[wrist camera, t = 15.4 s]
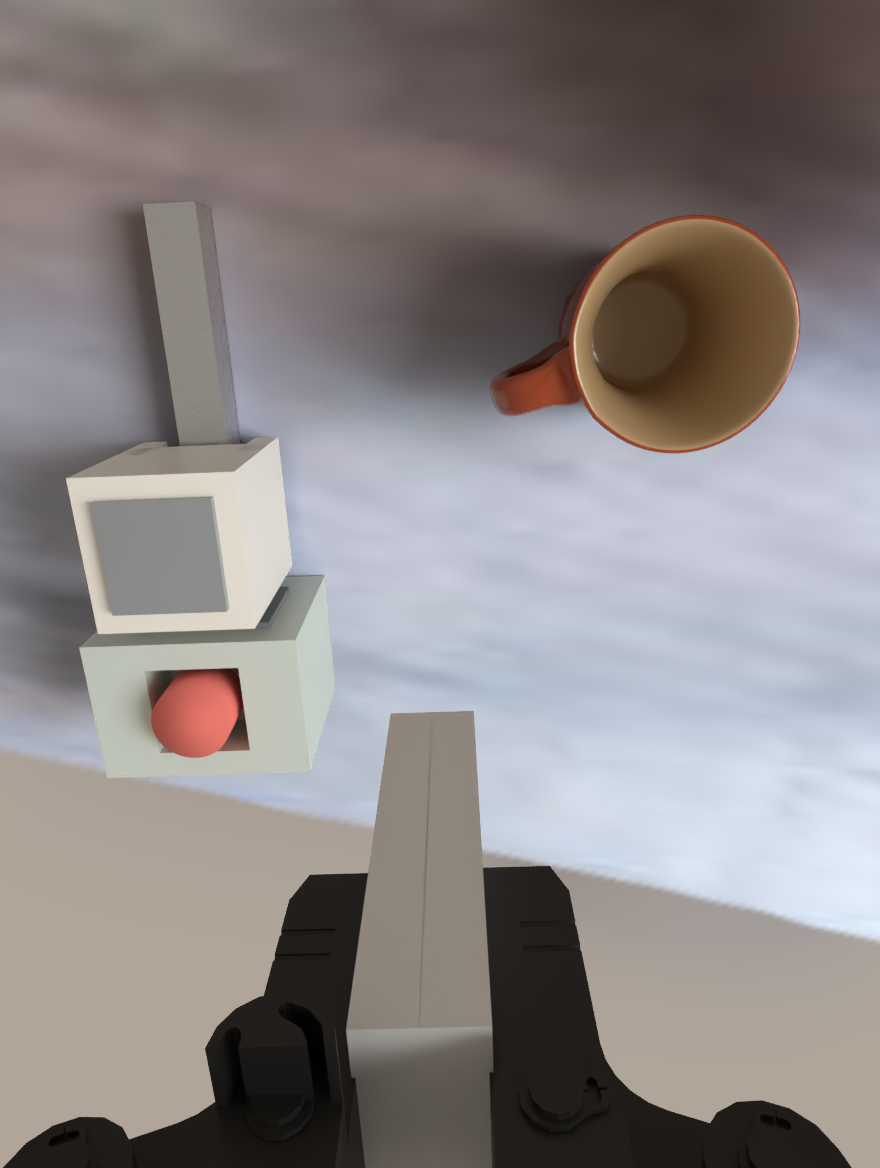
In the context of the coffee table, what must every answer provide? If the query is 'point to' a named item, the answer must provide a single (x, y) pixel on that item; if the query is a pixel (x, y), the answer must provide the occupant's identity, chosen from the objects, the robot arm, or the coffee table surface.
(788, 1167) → the robot arm
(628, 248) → the mug
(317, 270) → the coffee table surface
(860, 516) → the coffee table surface
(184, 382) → the rail
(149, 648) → the end cabinet
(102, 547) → the cream and grey block
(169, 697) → the button
